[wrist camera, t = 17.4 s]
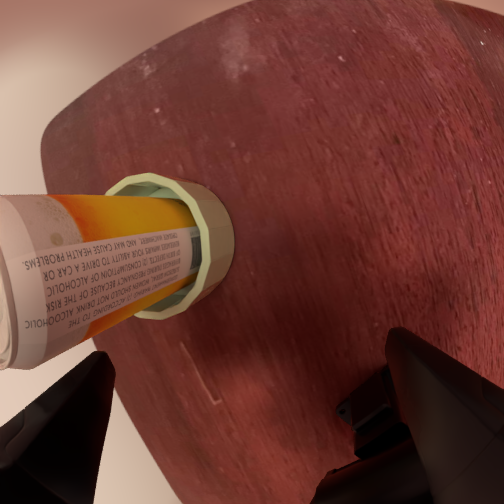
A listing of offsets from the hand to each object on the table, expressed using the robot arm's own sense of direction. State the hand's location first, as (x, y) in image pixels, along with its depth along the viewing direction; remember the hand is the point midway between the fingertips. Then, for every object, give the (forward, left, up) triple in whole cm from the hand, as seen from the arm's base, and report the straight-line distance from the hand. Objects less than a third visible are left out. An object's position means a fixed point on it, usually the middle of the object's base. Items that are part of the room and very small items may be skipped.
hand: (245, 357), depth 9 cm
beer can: (+7, +4, -11) cm, 14 cm away
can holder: (+8, +4, -12) cm, 14 cm away
